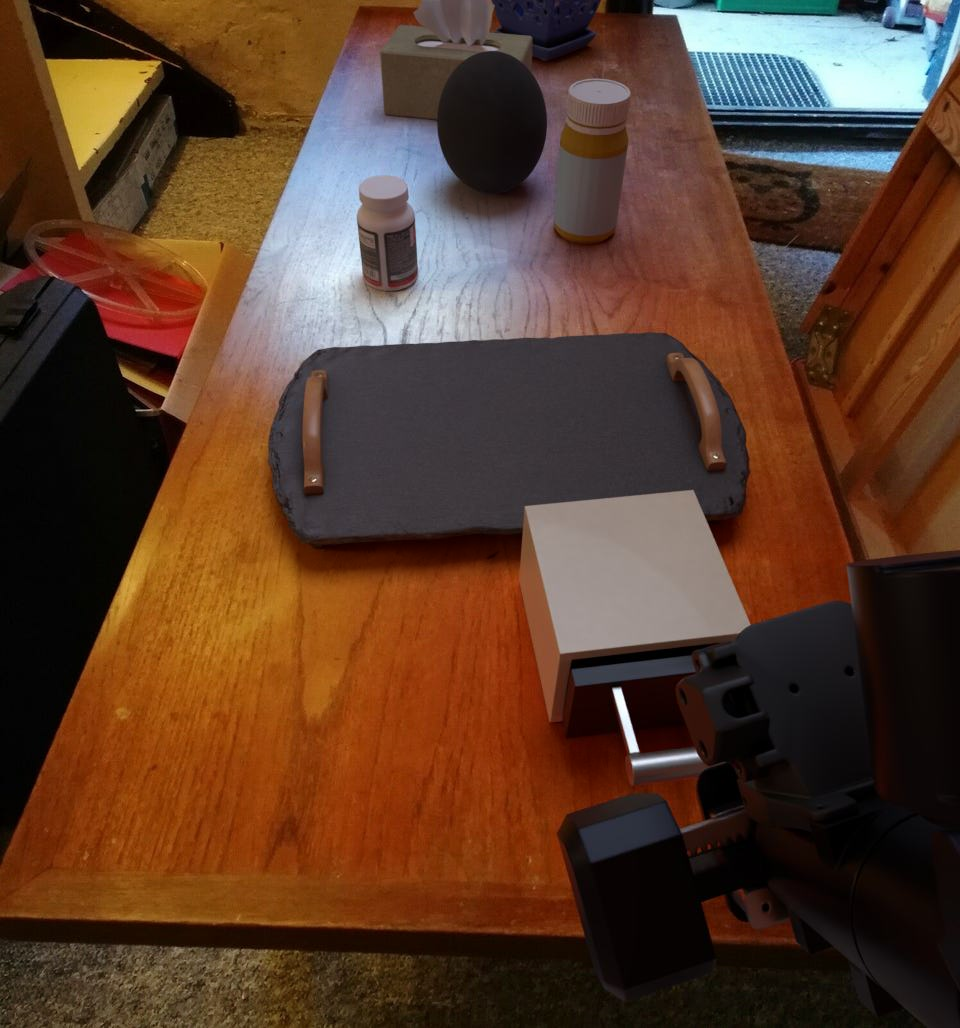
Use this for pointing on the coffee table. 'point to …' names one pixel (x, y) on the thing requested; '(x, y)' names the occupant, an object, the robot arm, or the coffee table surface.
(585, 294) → the coffee table surface
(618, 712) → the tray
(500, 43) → the tissue box
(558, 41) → the flower pot
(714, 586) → the grey drawer unit
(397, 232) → the pill bottle
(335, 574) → the coffee table surface
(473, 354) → the serving tray
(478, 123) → the decorative egg
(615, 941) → the robot arm
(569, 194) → the bottle
